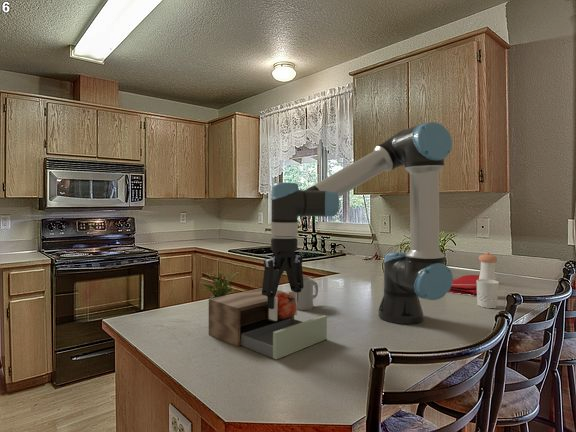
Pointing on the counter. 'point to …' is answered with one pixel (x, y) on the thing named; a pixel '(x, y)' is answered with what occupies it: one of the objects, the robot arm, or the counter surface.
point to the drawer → (285, 336)
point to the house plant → (219, 285)
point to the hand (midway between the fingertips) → (283, 316)
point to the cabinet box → (237, 313)
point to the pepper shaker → (487, 266)
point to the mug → (307, 294)
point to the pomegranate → (285, 305)
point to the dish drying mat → (465, 285)
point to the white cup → (487, 293)
